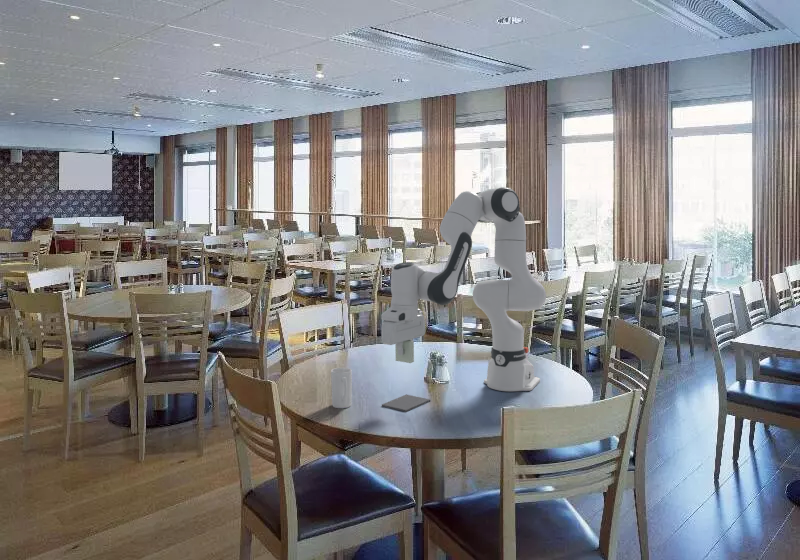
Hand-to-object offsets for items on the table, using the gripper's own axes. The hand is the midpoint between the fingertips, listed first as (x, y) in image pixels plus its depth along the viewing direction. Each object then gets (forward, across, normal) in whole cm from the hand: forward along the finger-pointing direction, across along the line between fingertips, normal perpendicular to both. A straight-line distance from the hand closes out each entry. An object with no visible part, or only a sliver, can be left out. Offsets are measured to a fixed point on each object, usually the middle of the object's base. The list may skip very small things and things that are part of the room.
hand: (404, 353), depth 228 cm
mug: (+18, +14, -15) cm, 27 cm away
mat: (+17, -1, 0) cm, 17 cm away
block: (+3, 0, 0) cm, 3 cm away
